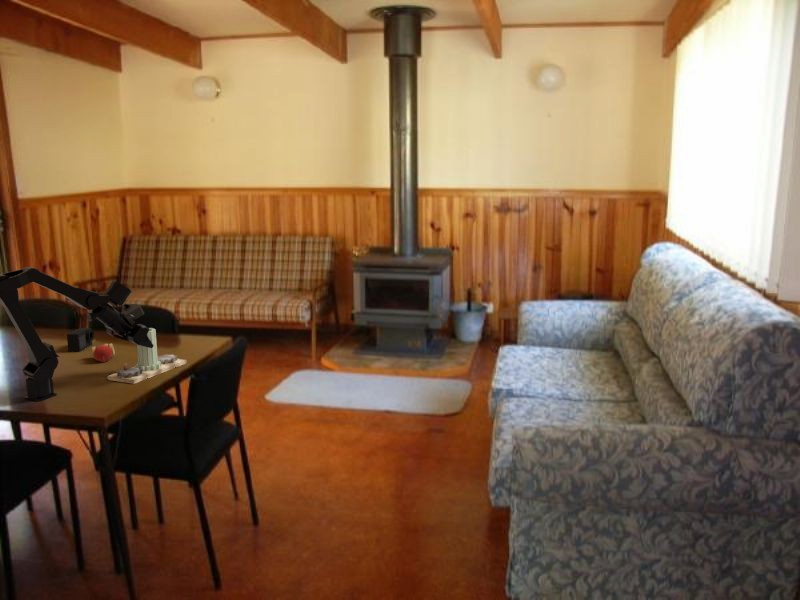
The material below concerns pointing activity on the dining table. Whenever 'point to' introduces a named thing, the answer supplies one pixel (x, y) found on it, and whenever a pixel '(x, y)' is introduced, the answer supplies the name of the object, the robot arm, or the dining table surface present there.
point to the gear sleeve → (148, 354)
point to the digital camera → (80, 339)
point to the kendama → (103, 352)
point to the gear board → (138, 375)
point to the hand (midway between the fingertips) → (145, 344)
